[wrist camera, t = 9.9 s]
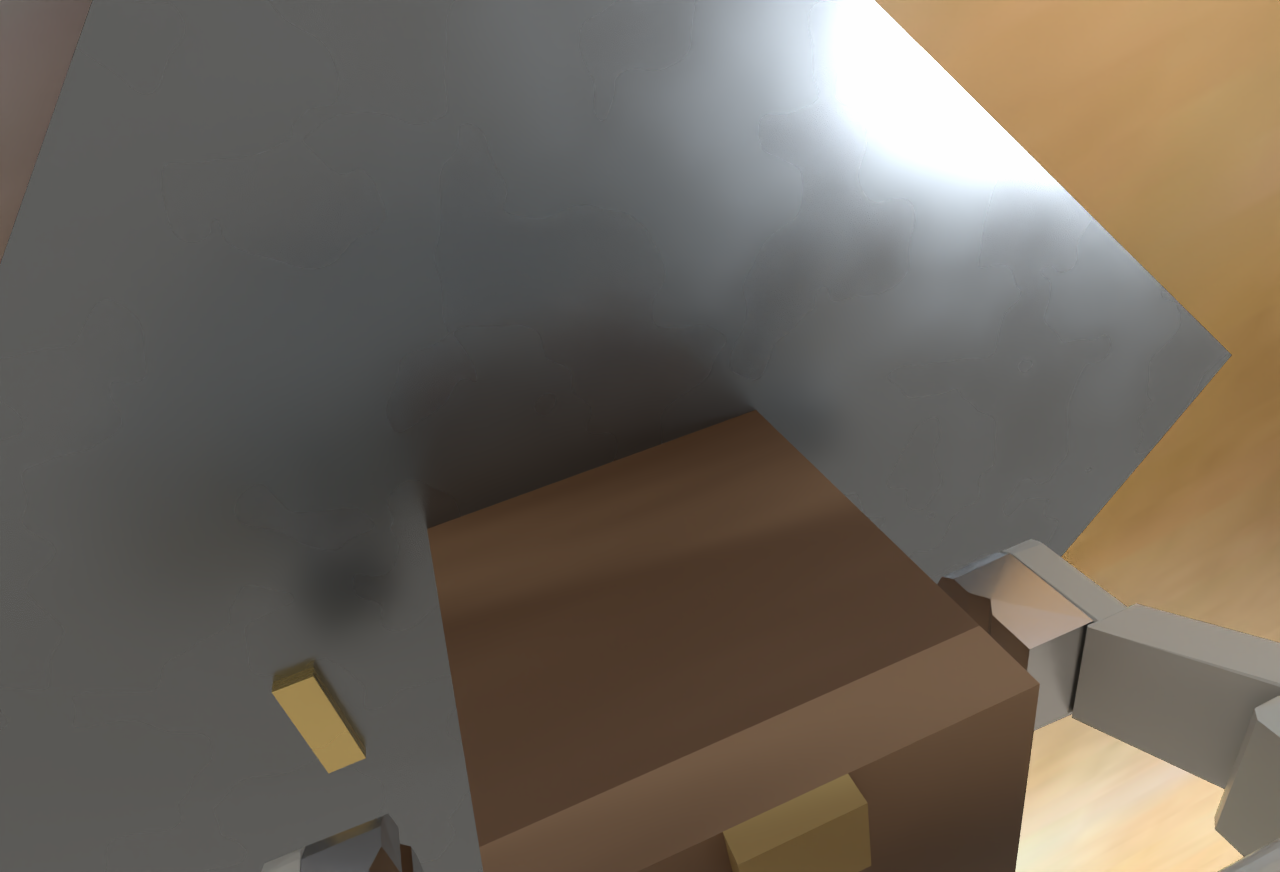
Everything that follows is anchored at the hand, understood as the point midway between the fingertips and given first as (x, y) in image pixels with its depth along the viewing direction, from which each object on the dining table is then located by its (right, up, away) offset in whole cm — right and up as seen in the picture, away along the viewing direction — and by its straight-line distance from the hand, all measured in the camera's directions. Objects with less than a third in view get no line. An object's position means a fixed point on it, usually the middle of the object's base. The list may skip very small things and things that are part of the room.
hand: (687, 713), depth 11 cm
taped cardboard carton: (-1, +1, +2) cm, 3 cm away
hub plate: (-1, +2, +3) cm, 4 cm away
